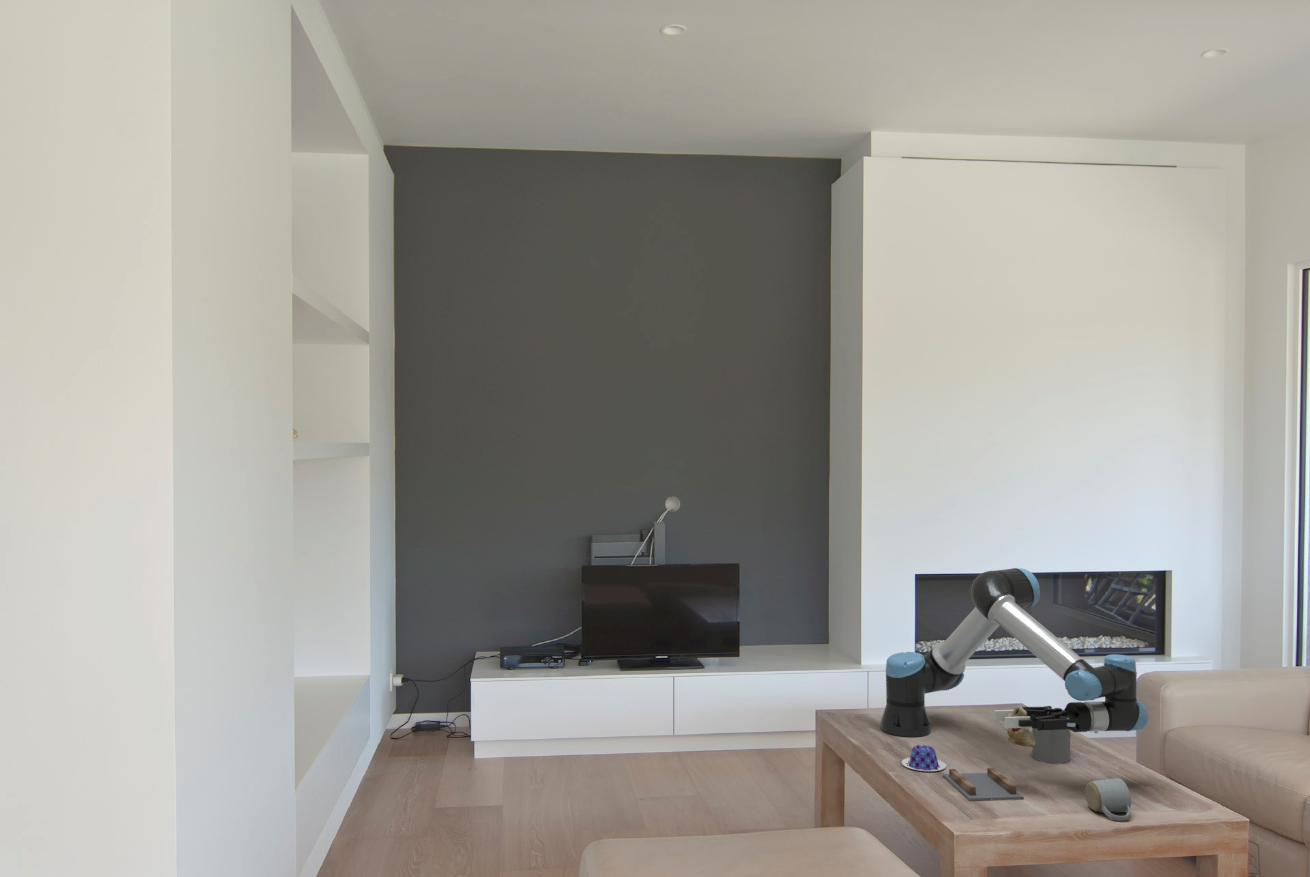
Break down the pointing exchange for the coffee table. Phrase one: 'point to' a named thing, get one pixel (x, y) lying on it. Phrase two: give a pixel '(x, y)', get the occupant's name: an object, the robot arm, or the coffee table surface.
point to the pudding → (923, 759)
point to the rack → (990, 772)
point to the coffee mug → (1052, 745)
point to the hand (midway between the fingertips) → (1000, 719)
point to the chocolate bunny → (1021, 731)
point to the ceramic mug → (1109, 797)
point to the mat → (983, 787)
